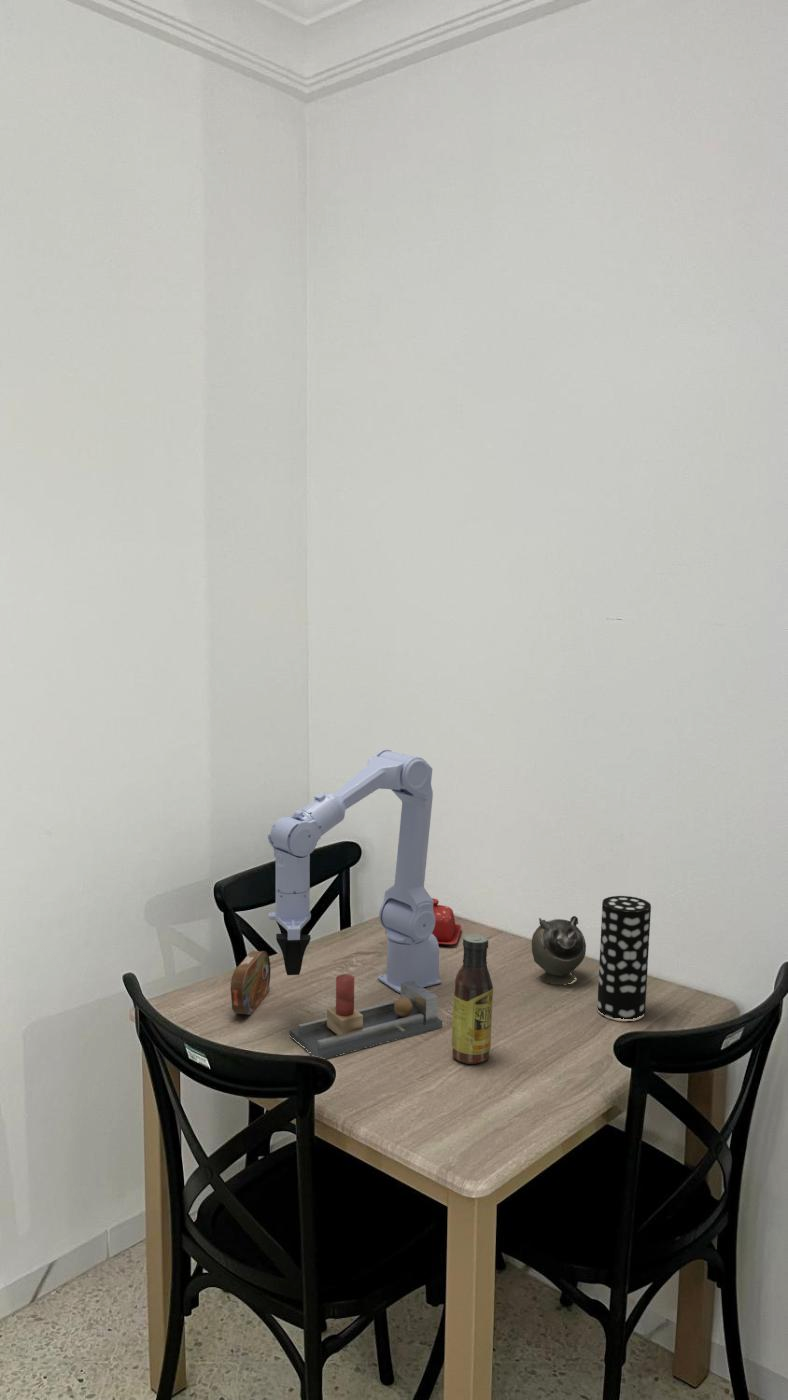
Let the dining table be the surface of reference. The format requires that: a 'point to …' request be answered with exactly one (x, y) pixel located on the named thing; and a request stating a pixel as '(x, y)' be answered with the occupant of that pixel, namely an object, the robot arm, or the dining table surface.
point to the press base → (373, 1025)
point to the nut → (403, 1006)
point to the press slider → (344, 1008)
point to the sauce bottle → (472, 1003)
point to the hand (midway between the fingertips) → (292, 965)
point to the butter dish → (445, 924)
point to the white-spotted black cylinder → (623, 957)
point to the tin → (250, 982)
